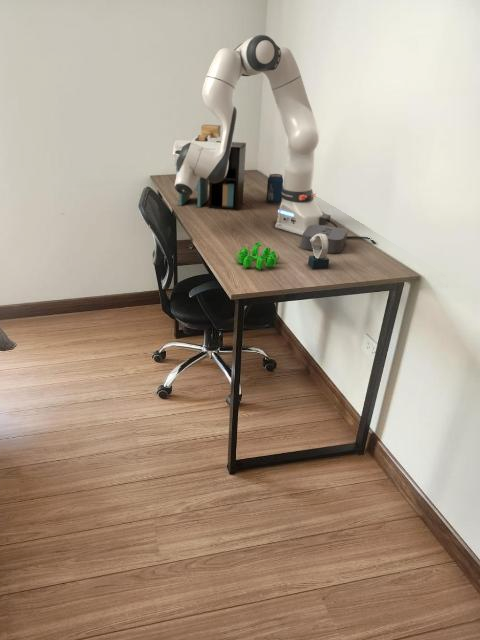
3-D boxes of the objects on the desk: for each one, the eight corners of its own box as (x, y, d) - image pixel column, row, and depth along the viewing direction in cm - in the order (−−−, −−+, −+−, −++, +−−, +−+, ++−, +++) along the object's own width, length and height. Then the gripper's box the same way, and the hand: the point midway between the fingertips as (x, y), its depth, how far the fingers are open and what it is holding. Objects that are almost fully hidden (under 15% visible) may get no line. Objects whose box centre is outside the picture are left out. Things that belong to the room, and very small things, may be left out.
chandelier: (287, 262, 185) (289, 243, 181) (261, 275, 176) (263, 254, 172) (252, 252, 193) (253, 233, 190) (226, 264, 184) (226, 244, 180)
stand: (199, 207, 242) (200, 155, 229) (179, 205, 244) (178, 153, 232) (207, 200, 251) (208, 150, 239) (187, 198, 254) (187, 148, 241)
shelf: (236, 210, 238) (239, 147, 223) (208, 207, 241) (209, 145, 227) (242, 203, 246) (245, 142, 232) (215, 201, 250) (217, 141, 235)
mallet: (204, 135, 224) (204, 124, 222) (220, 136, 222) (220, 125, 220) (193, 141, 212) (193, 129, 209) (210, 142, 210) (210, 130, 208)
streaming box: (339, 254, 192) (341, 240, 189) (299, 249, 196) (301, 235, 194) (346, 242, 203) (348, 228, 200) (308, 237, 207) (310, 224, 205)
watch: (321, 261, 186) (325, 230, 180) (330, 270, 180) (334, 237, 174) (305, 262, 185) (309, 231, 179) (314, 271, 179) (318, 238, 173)
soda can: (280, 200, 251) (283, 173, 245) (281, 204, 246) (283, 177, 239) (266, 200, 252) (268, 173, 245) (266, 204, 246) (268, 176, 239)
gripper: (219, 156, 202) (228, 131, 207) (168, 152, 207) (178, 128, 212) (221, 169, 207) (230, 144, 213) (171, 165, 212) (181, 141, 218)
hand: (203, 136), depth 213 cm, fingers closed on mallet, 2 cm apart
